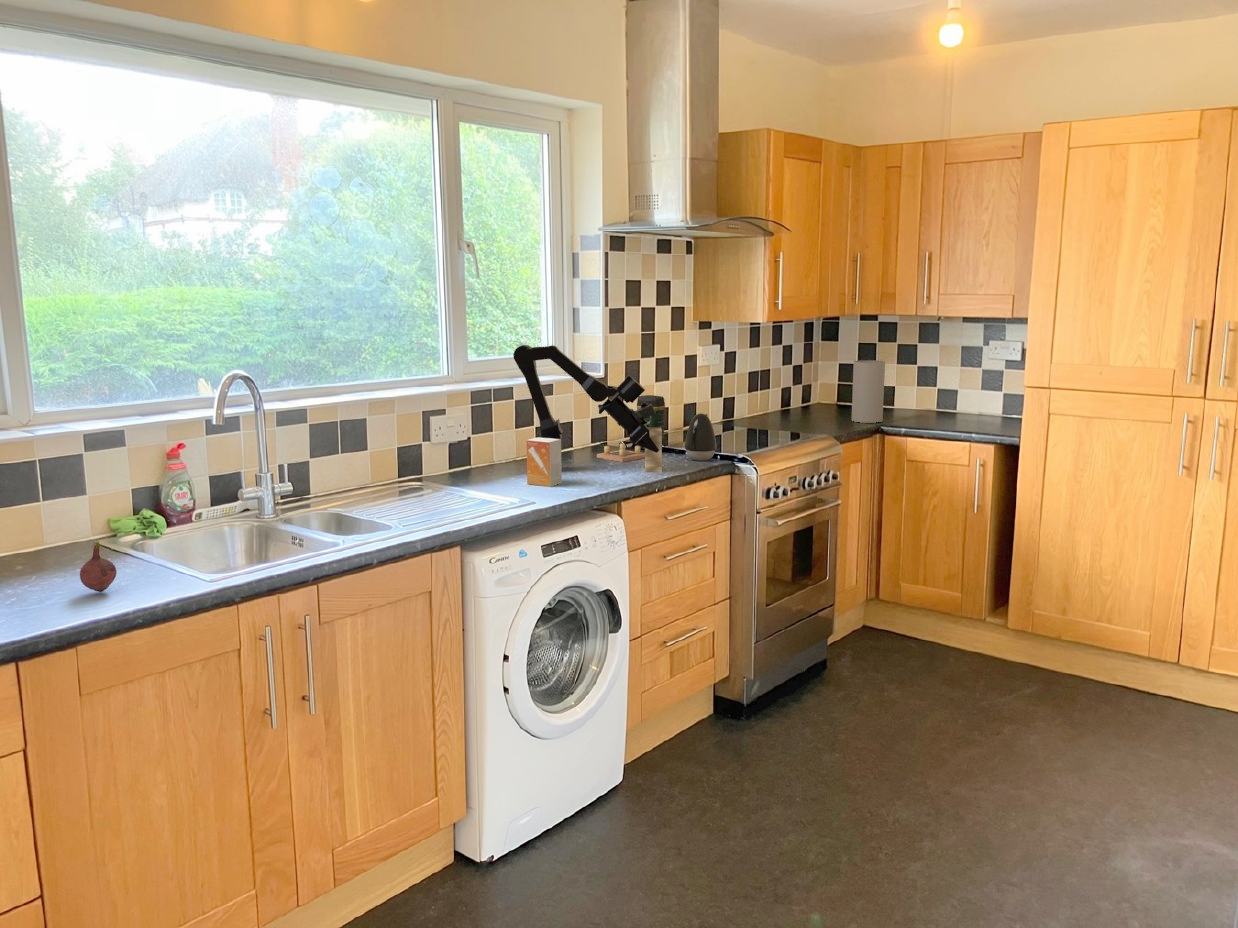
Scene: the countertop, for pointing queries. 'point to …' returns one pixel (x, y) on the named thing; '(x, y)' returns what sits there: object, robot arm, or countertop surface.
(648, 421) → the coffee jar
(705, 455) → the dark egg shaped diffuser
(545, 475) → the small box
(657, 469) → the maple block
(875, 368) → the cylinder vase
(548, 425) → the robot arm
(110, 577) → the vegetable
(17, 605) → the countertop surface
